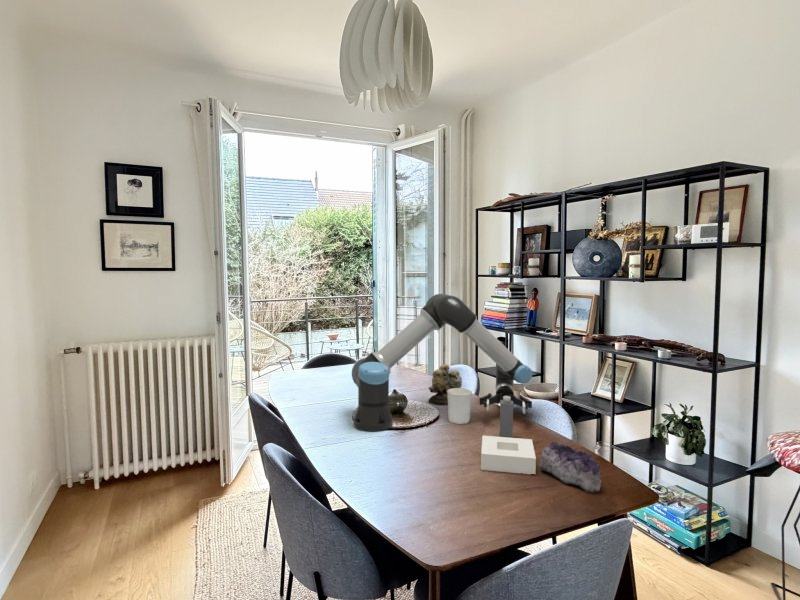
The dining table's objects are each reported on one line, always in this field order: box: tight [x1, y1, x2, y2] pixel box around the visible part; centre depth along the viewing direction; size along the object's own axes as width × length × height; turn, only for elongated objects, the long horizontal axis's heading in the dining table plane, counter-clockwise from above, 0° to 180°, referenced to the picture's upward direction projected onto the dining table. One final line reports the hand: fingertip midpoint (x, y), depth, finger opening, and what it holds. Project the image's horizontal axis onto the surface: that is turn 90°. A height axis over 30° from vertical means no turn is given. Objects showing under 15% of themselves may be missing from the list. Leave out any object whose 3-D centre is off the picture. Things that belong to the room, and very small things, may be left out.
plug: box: [498, 396, 514, 438], centre depth 173 cm, size 4×4×15 cm
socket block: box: [480, 435, 537, 475], centre depth 151 cm, size 16×16×5 cm
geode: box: [539, 441, 602, 493], centre depth 140 cm, size 20×12×10 cm, turn 29°
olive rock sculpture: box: [428, 364, 463, 406], centre depth 218 cm, size 18×12×17 cm, turn 117°
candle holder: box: [447, 387, 473, 425], centre depth 191 cm, size 10×10×12 cm
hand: (505, 408), depth 182 cm, fingers open, 13 cm apart
